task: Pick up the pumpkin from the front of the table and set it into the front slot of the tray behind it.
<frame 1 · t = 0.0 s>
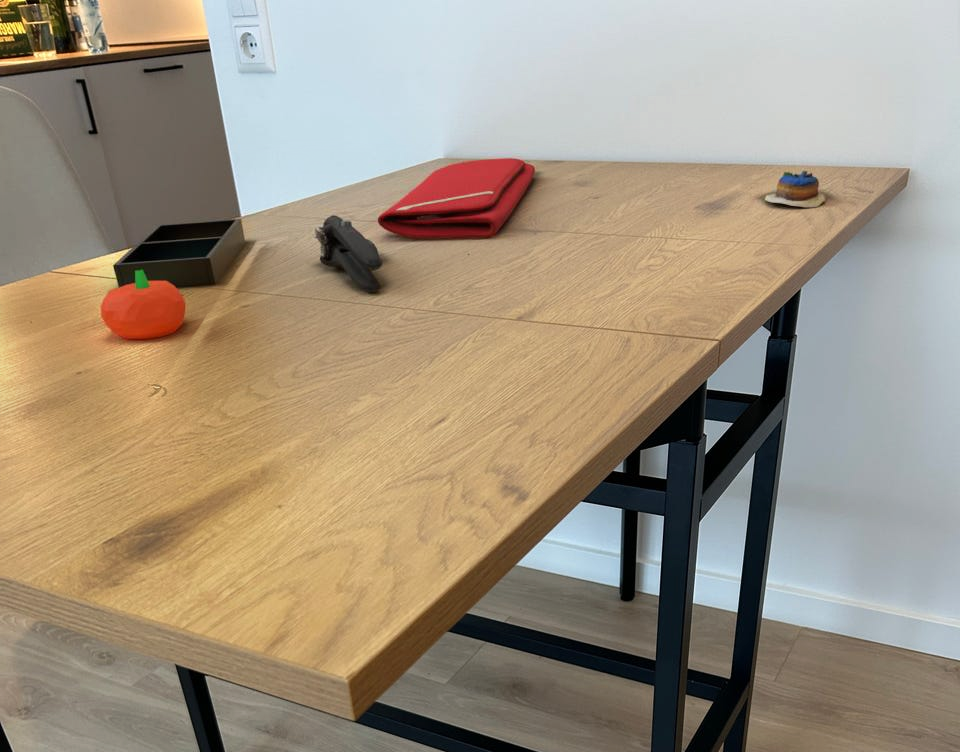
red felt clutch: (465, 208, 141), on the table
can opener: (357, 278, 112), on the table
tray: (188, 270, 120), on the table
pumpkin: (151, 340, 98), on the table
dessert: (794, 204, 129), on the table
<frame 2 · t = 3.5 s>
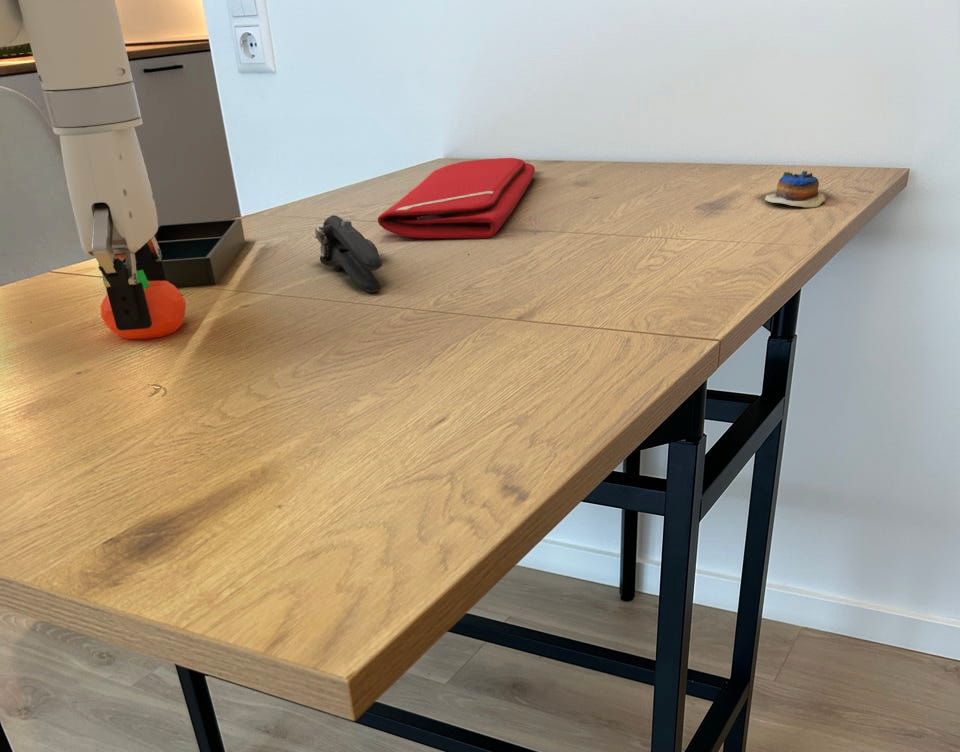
hand: (145, 314, 96), 2 cm above the table, tool pointing down, fingers closed on pumpkin, 7 cm apart
pumpkin: (151, 340, 98), on the table, touching gripper
everything else where it was.
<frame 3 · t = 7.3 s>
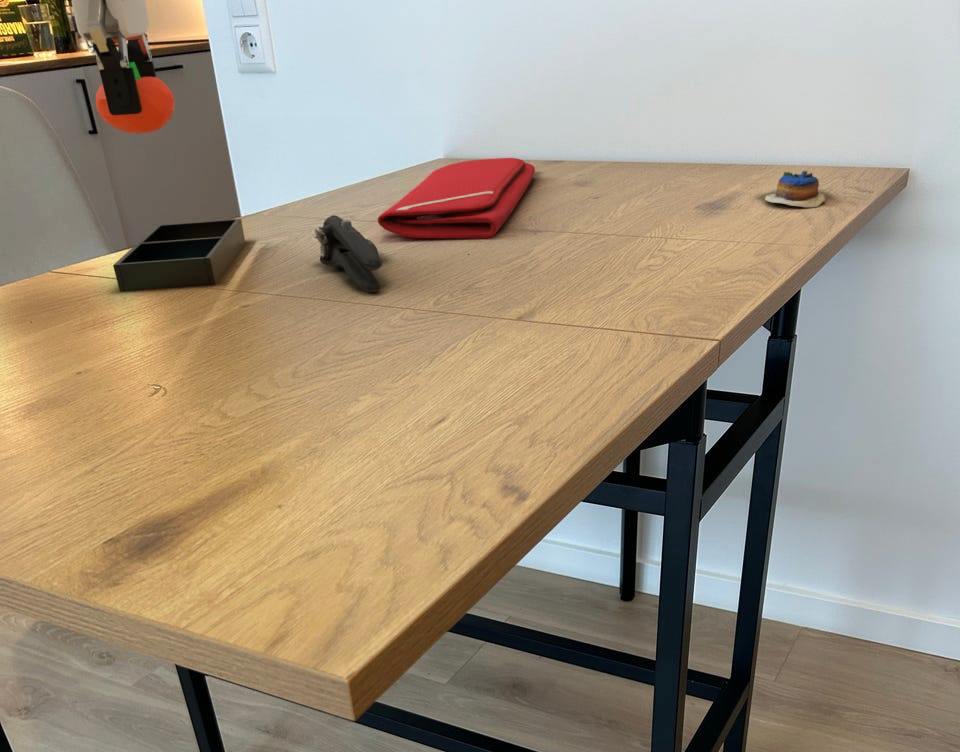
hand: (136, 108, 104), 18 cm above the table, tool pointing down, fingers closed on pumpkin, 7 cm apart
pumpkin: (142, 134, 106), point 16 cm above the table, touching gripper
everything else where it was.
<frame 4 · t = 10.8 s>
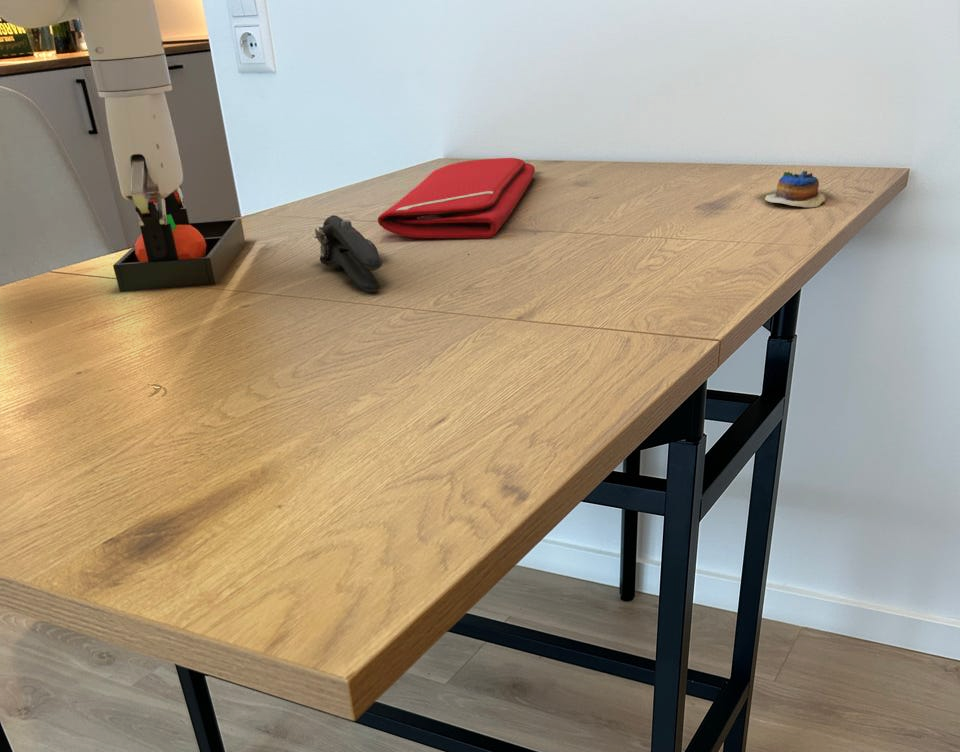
hand: (172, 253, 114), 3 cm above the table, tool pointing down, fingers closed on pumpkin, 7 cm apart
pumpkin: (177, 275, 115), point 1 cm above the table, touching gripper
everything else where it was.
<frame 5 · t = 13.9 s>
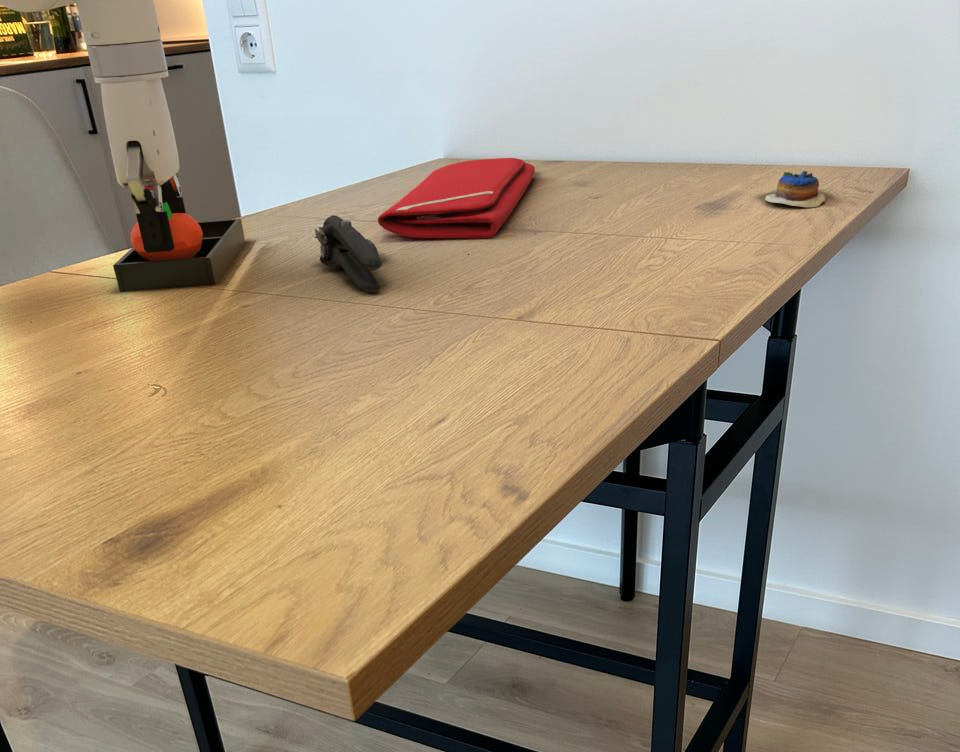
hand: (168, 241, 113), 4 cm above the table, tool pointing down, fingers closed on pumpkin, 7 cm apart
pumpkin: (173, 264, 115), point 2 cm above the table, touching gripper
everything else where it was.
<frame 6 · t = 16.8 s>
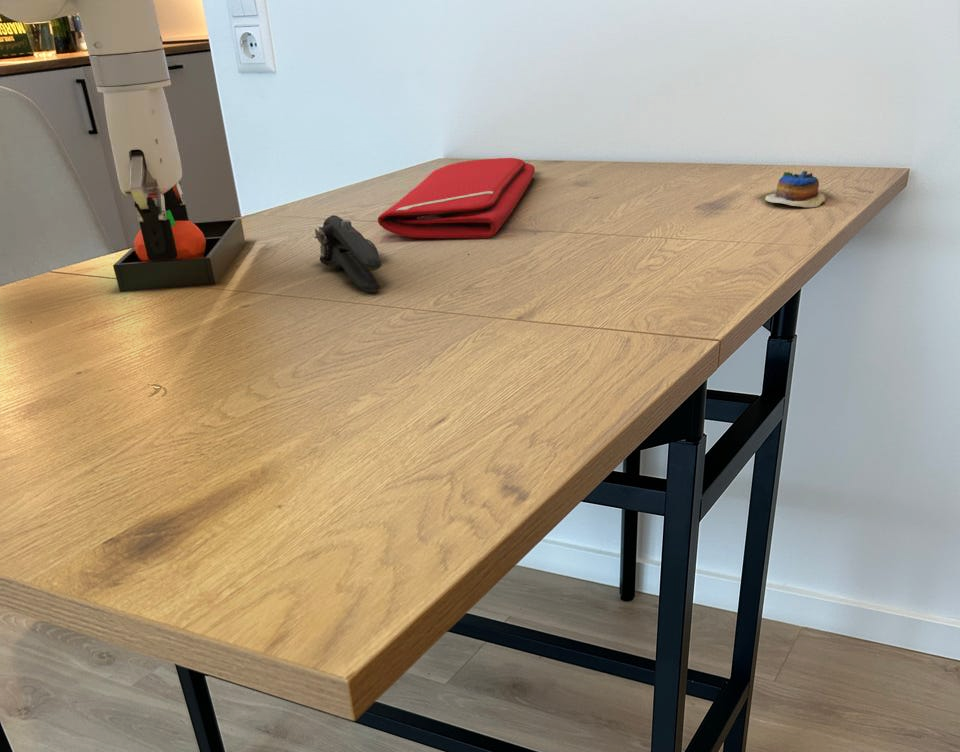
hand: (171, 249, 114), 4 cm above the table, tool pointing down, fingers closed on pumpkin, 7 cm apart
pumpkin: (176, 271, 115), point 1 cm above the table, touching gripper
everything else where it was.
when the fingers open (4 cm above the table, at t = 22.6 s): pumpkin drops 1 cm, resting on tray.
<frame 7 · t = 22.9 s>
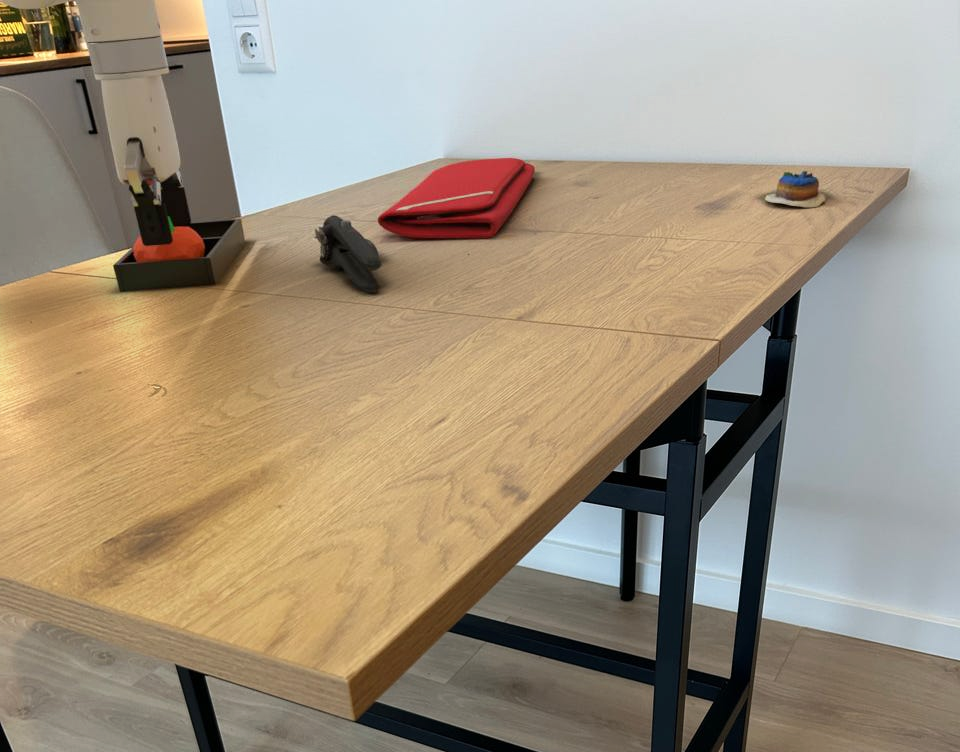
hand: (168, 234, 113), 5 cm above the table, tool pointing down, fingers open, 9 cm apart
pumpkin: (175, 277, 115), point 1 cm above the table, touching tray
everything else where it was.
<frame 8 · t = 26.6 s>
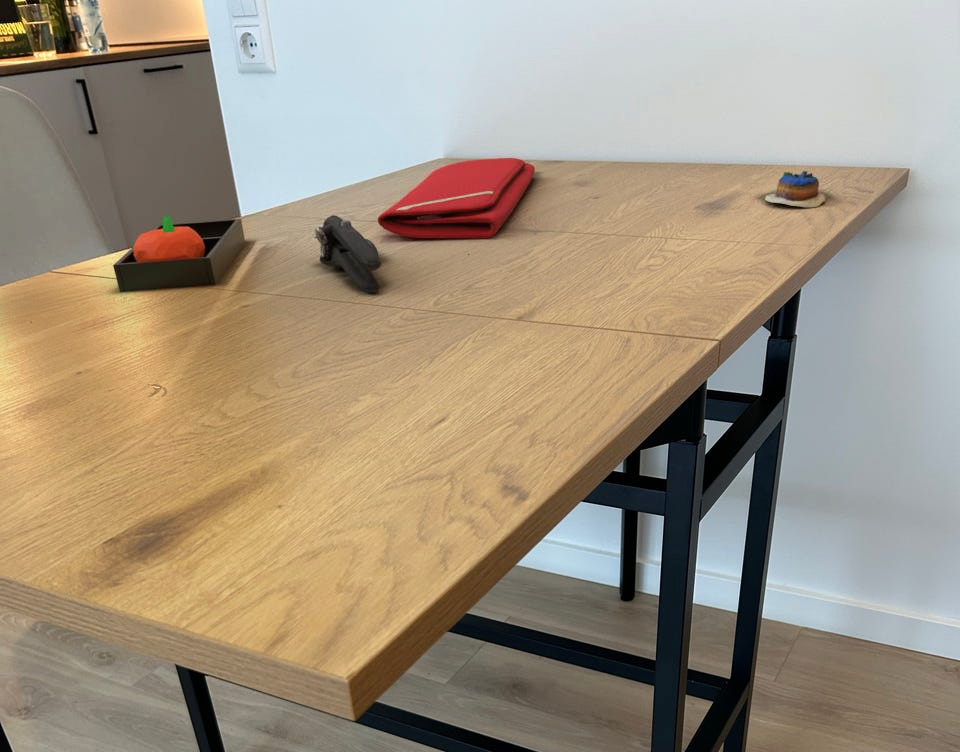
nothing on the table moved.
at the end: pumpkin inside the target area in the tray (0.3 cm from its centre), point 0.5 cm above the tray's base; the gripper is holding nothing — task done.
